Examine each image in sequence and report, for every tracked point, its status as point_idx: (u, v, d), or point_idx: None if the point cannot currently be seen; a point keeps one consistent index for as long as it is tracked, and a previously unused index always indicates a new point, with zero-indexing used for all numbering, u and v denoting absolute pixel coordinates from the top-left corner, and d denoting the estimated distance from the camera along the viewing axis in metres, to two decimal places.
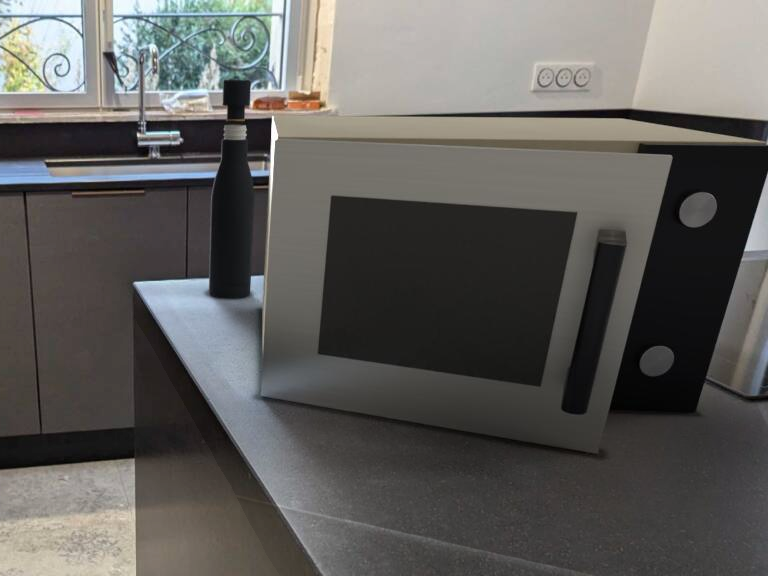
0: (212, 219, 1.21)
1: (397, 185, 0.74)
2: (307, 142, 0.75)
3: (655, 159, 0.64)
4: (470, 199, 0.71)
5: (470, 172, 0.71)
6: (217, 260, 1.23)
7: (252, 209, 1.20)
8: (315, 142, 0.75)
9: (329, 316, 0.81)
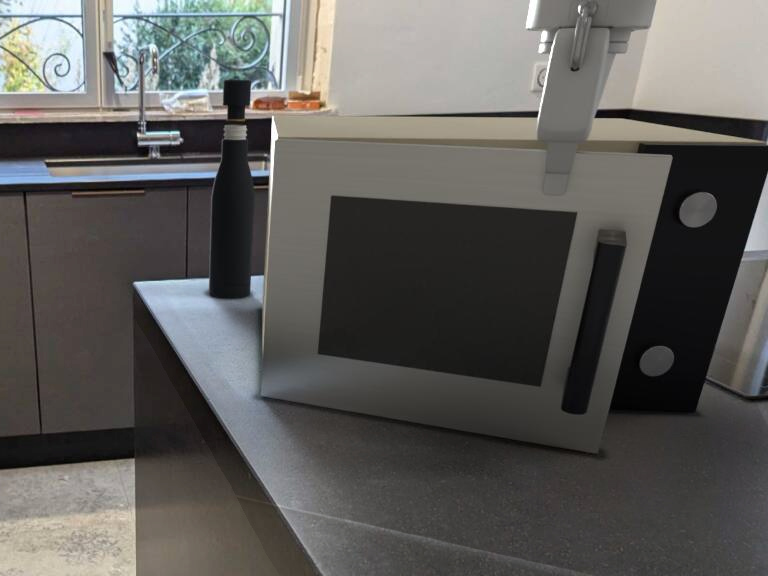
0: (212, 219, 1.21)
1: (397, 185, 0.74)
2: (307, 142, 0.75)
3: (655, 159, 0.64)
4: (470, 199, 0.71)
5: (470, 172, 0.71)
6: (217, 260, 1.23)
7: (252, 209, 1.20)
8: (315, 142, 0.75)
9: (329, 316, 0.81)
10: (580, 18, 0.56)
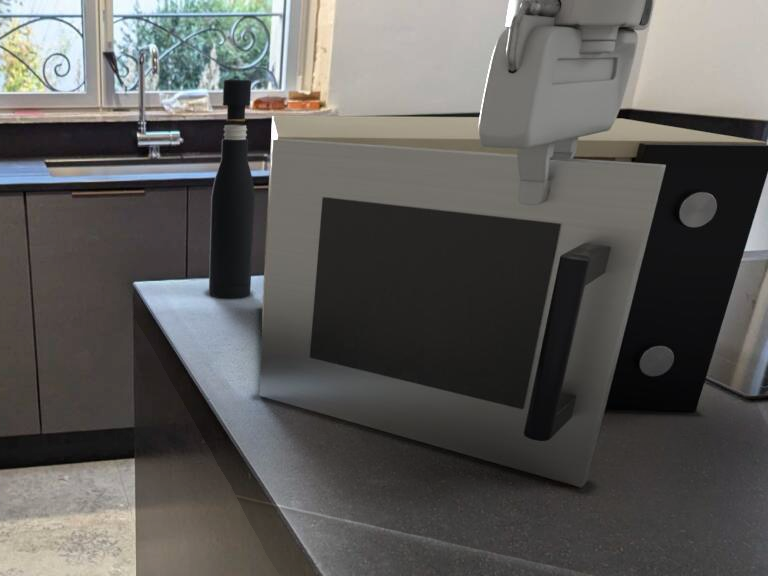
0: (212, 219, 1.21)
1: (384, 189, 0.71)
2: (302, 143, 0.75)
3: (642, 169, 0.59)
4: (453, 205, 0.68)
5: (454, 177, 0.67)
6: (217, 260, 1.23)
7: (252, 209, 1.20)
8: (309, 143, 0.75)
9: (320, 320, 0.80)
10: (514, 17, 0.53)
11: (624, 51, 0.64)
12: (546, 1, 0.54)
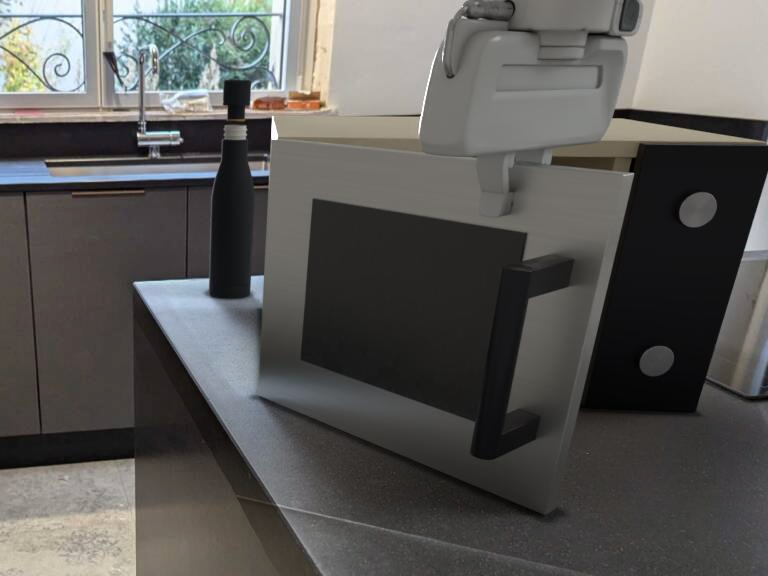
0: (212, 219, 1.21)
1: (366, 191, 0.70)
2: (296, 143, 0.75)
3: (604, 177, 0.55)
4: (428, 210, 0.66)
5: (428, 181, 0.65)
6: (217, 260, 1.23)
7: (252, 209, 1.20)
8: (302, 143, 0.74)
9: (309, 322, 0.79)
10: (451, 20, 0.51)
11: (610, 58, 0.60)
12: (493, 4, 0.52)
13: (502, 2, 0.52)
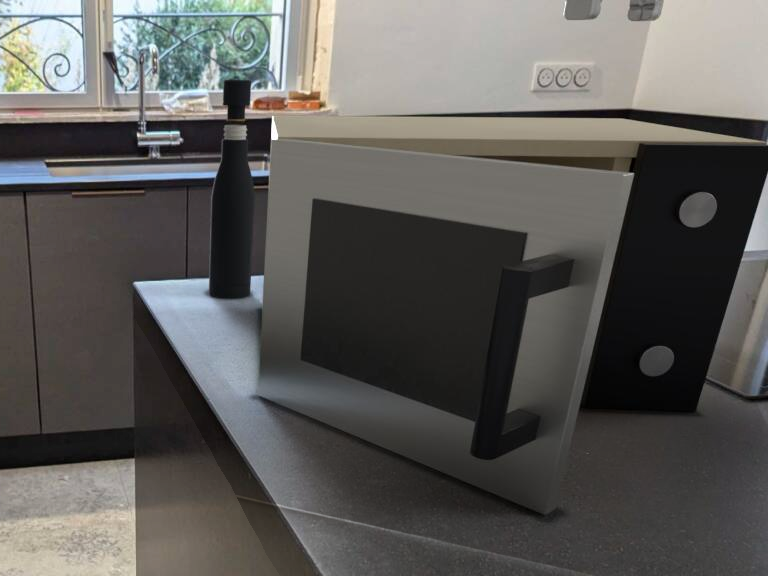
0: (212, 219, 1.21)
1: (366, 191, 0.70)
2: (296, 143, 0.75)
3: (604, 177, 0.55)
4: (428, 210, 0.66)
5: (428, 181, 0.65)
6: (217, 260, 1.23)
7: (252, 209, 1.20)
8: (302, 143, 0.74)
9: (309, 322, 0.79)
10: None
11: None
12: None
13: None
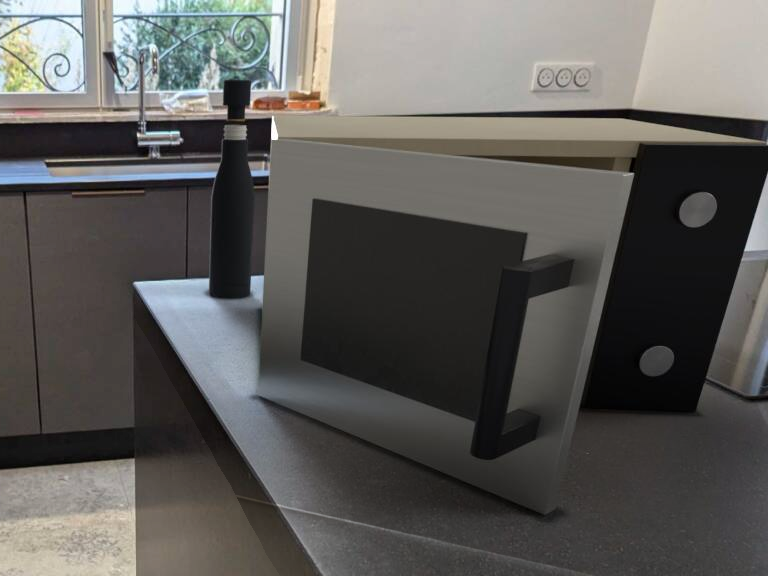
0: (212, 219, 1.21)
1: (366, 191, 0.70)
2: (296, 143, 0.75)
3: (604, 177, 0.55)
4: (428, 210, 0.66)
5: (428, 181, 0.65)
6: (217, 260, 1.23)
7: (252, 209, 1.20)
8: (302, 143, 0.74)
9: (309, 322, 0.79)
10: None
11: None
12: None
13: None
